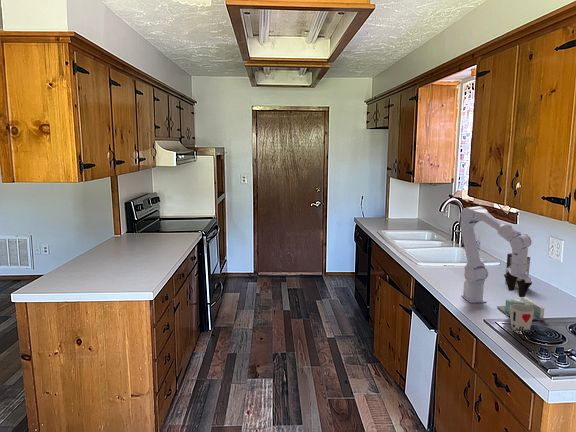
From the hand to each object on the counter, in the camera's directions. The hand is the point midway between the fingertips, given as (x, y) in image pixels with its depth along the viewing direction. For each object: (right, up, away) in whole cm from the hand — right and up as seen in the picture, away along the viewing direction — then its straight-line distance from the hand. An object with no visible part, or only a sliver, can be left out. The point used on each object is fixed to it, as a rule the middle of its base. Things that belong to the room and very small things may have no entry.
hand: (516, 293), depth 183 cm
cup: (-7, -13, -15) cm, 21 cm away
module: (0, -8, +1) cm, 8 cm away
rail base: (+2, -9, +2) cm, 10 cm away
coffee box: (+20, -3, +38) cm, 43 cm away
